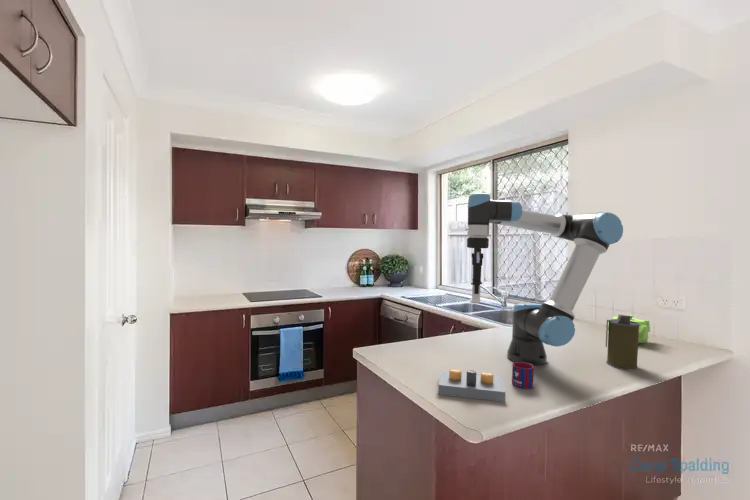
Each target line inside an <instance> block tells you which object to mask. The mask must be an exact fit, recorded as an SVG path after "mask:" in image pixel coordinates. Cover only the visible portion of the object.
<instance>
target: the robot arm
mask: <svg viewBox="0 0 750 500" xmlns="http://www.w3.org/2000/svg"><path fill="white" fill-rule="evenodd" d="M467 200H468V201H467V227H465V231H467V233H466V234H467V236H468V237H467V239H466V247H467V248H468V249H473V252H471V265H472V282H470V285H472V289H471V292H472V293H471V303H472V304H480V303H481V285H482V284H483V282H482V280H481V279H482V266H483V261H484V260H483V259H484V253H482V249H489V245H490V243H489V241H490V240H489V237H490V224H494V225H498V226H499V225H501V226H506V227H511V228H516V229H522V230H528V231H534V232H537V233H539V232H540V233H543V234H550V235H551V236H552V237H554V238H559V239H562V240H568V241H571V242H574V245H575V246H574V248H573V251H572V253H571V254H570V257H569V259H568V260H567V263H566V265H565V267H564V269H563V270H562V273H561V275H560V278H559V279H558V281H557V283H556V285H555V288H554V289H553V291H552V293H551V296H550V297H549V300H547V301H544V302H542V304H541V303H516V304H514V305H513V308H512V332H511V333H512V337H511V341H510V343H509V345H508V348H507V350H506V351H507V352H506V353H507V354H506V357H507V358H508V359H509V360H510V361H512V362H524V363H529V364H533V365H534V366H540V365H544V364H545V365H546V363H547V362H548V361H547V358H548V357H547V353H546V350H545V346H544V344H545V345H548V346H551V347H562V346H565V345H567V344H569V342H571V341H572V339H574V336H575V332H576V328H575V326H576V325H575V323H574V322H573V321H574V319H575V315H574V313H573V311H574V308H575V306H576V304H577V302H578V301H579V298H580V296H581V294H582V291H583V289H584V287H585V286H586V284H587V281H588V280H589V278H590V276H591V273H592V272H593V269H594V267H595V265H596V263H597V261H598V259H599V257H600V255H602V254H605V253H607V251H608V249H609V247H610V245H612V244H613V245H614V244H616V243H618V242H619V241H621V239H622V237H623V233H624V227H623V226H624V225H623V224H622V220H621V219H620V217H619V216H617V215H616V214H614V213H613V212H604V211H600V212H595V213H594V212H593V213H591V212H590V213H579V214H563V213H558V214H555V215H554V214H548V213H542V212H537V211H534V210H533V211H532V210H526V209H523V204H522V203H521V202H520V201H518V200H512V199H511V200H502V199H501V200H500V199H499V200H497V199H495V200H494V199H491V195H490V194H489V193H486V192H485V193H483V192H482V193H480V192H479V193H471V194H470V195H469V196H468V199H467Z"/></svg>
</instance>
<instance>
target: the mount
mask: <svg viewBox="0 0 750 500" xmlns="http://www.w3.org/2000/svg"><path fill="white" fill-rule="evenodd" d="M480 378H481V373H480V374H478V373H476V386H474V387H471V386H468V385H466V379H467V372H462V378H461V381H452V380H450V379H449V370H440V373H439V382H438V395H441V396H451V397H458V398H459V397H460V398H469V399H475V400H476V399H477V400H484V401H485V400H486V401H494V402H495V401H496V402H502V403H505V402H506V390H505V385H504V383H503V379H502V377H501V376H499V375H494V376H493V384H490V385H488V384H483V383H481V382H480Z"/></svg>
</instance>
